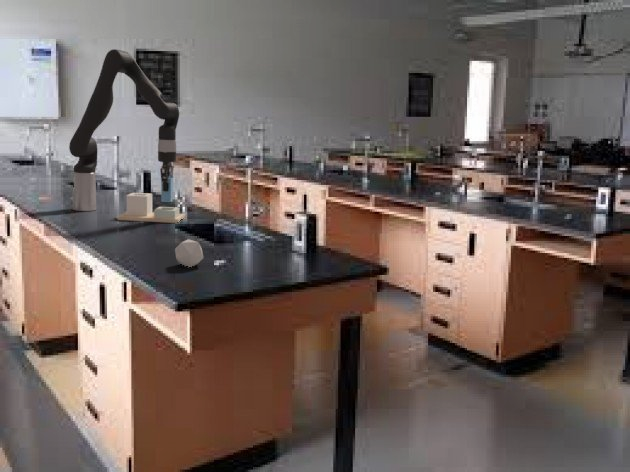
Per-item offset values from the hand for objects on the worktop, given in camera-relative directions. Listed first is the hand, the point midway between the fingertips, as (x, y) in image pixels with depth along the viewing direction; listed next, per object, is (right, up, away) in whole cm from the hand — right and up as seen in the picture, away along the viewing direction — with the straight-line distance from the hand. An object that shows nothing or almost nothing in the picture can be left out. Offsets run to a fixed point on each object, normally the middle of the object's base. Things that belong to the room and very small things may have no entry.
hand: (167, 190), depth 274 cm
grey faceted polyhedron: (+23, -29, -70) cm, 79 cm away
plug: (0, -5, +1) cm, 5 cm away
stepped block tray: (-8, -12, +5) cm, 15 cm away
